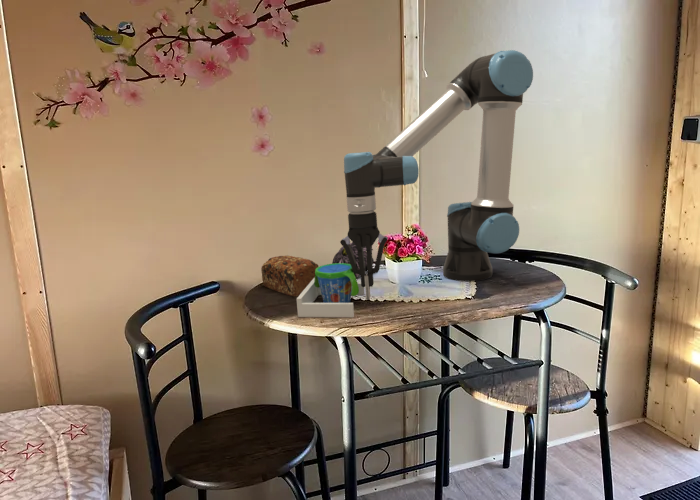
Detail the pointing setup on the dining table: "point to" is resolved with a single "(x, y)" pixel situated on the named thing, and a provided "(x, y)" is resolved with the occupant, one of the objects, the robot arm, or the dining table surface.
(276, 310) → the dining table surface
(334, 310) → the fence
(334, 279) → the snack cup
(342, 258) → the decorative flower
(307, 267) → the bread
